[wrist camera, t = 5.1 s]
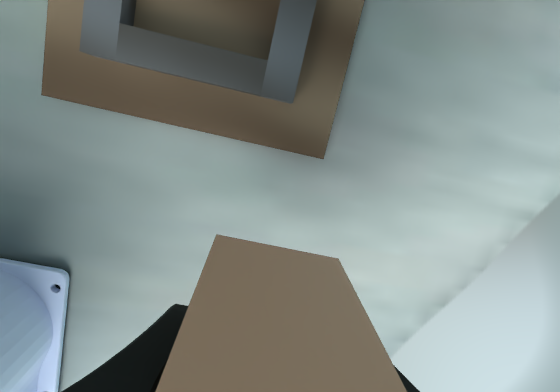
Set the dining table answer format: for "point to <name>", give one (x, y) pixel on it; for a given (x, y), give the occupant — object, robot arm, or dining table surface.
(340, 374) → the beige upright block
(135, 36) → the socket board
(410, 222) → the dining table surface
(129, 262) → the dining table surface
